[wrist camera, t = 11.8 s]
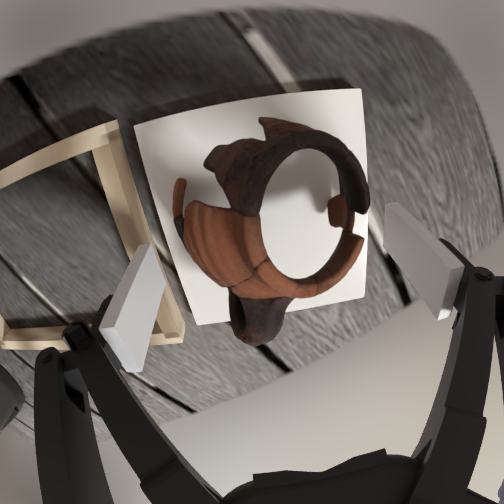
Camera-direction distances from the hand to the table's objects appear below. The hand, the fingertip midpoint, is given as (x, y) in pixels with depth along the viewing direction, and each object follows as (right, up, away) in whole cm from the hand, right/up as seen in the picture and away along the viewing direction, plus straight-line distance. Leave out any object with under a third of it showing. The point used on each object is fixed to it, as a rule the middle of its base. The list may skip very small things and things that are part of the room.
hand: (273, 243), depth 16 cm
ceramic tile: (0, +2, +3) cm, 4 cm away
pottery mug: (-1, +2, +2) cm, 3 cm away
